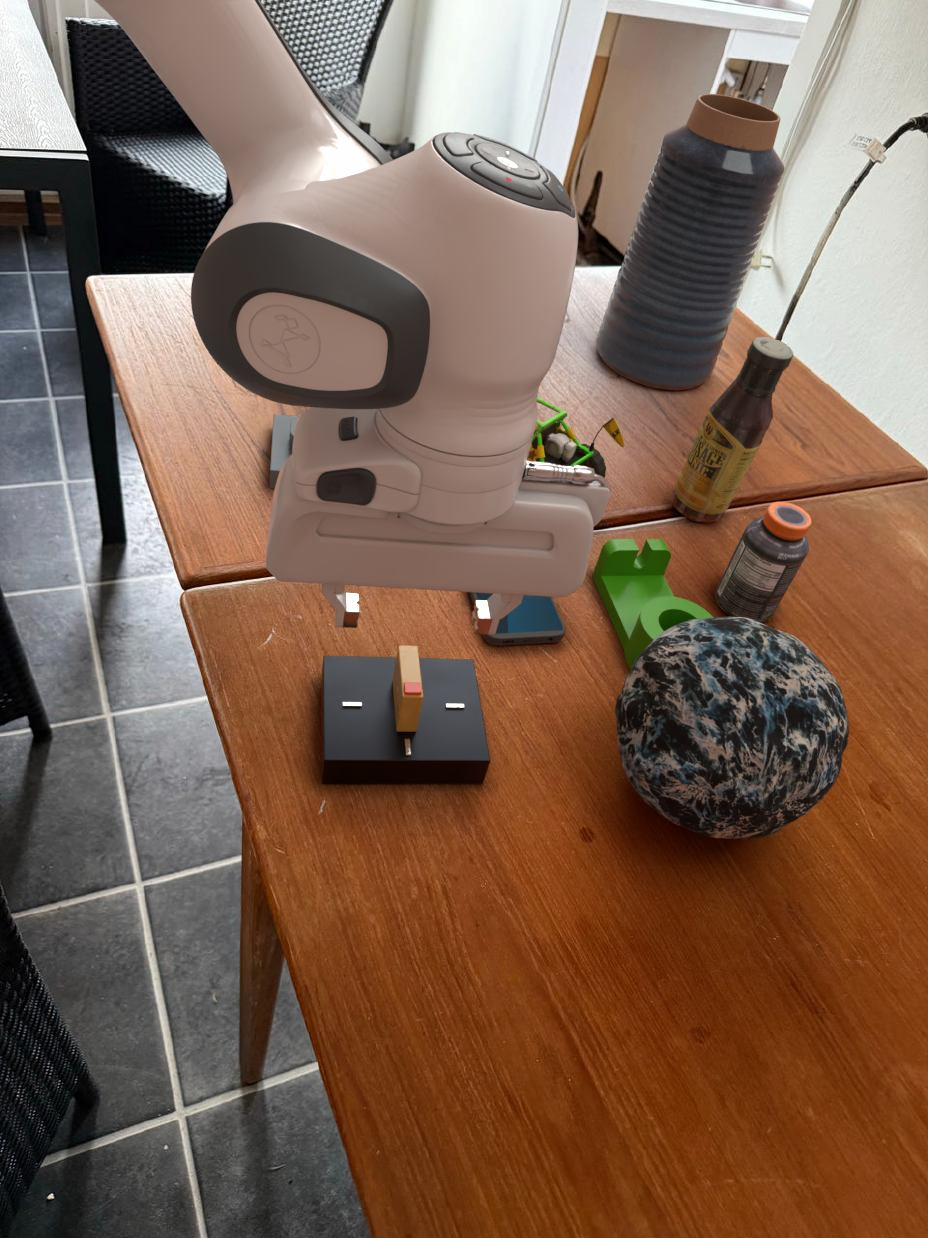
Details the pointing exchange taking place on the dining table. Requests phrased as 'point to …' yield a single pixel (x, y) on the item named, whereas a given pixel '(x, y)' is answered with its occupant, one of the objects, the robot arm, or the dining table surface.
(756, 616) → the pill bottle
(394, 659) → the plate
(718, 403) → the sauce bottle
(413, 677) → the thumb turn
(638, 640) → the tape dispenser
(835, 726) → the decorative stone
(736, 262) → the vase
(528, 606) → the smartphone
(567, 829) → the dining table surface
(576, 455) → the motor vehicle
